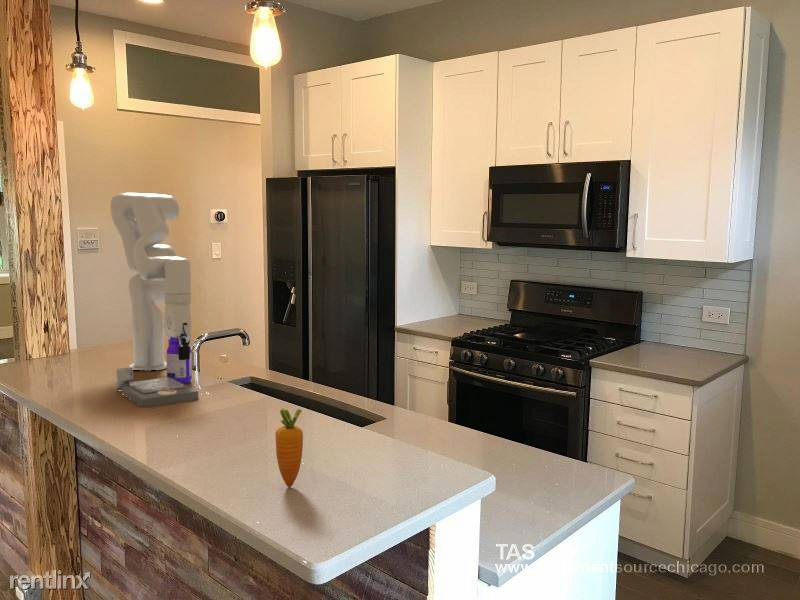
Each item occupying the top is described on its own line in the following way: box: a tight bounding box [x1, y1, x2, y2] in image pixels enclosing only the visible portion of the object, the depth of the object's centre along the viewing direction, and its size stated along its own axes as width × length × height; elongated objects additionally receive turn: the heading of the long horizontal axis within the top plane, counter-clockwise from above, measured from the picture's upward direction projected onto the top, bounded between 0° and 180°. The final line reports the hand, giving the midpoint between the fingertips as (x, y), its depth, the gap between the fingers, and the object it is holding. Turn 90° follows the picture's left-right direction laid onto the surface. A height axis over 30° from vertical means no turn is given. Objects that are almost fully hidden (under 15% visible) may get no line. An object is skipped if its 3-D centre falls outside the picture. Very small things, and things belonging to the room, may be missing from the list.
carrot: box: [275, 407, 304, 488], centre depth 122 cm, size 5×5×15 cm
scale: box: [121, 380, 199, 409], centre depth 186 cm, size 17×15×3 cm
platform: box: [130, 376, 183, 393], centre depth 187 cm, size 11×11×1 cm
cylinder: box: [115, 367, 134, 390], centre depth 192 cm, size 4×4×6 cm
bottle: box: [166, 335, 193, 385], centre depth 202 cm, size 7×6×17 cm
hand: (179, 357), depth 202 cm, fingers closed on bottle, 7 cm apart
